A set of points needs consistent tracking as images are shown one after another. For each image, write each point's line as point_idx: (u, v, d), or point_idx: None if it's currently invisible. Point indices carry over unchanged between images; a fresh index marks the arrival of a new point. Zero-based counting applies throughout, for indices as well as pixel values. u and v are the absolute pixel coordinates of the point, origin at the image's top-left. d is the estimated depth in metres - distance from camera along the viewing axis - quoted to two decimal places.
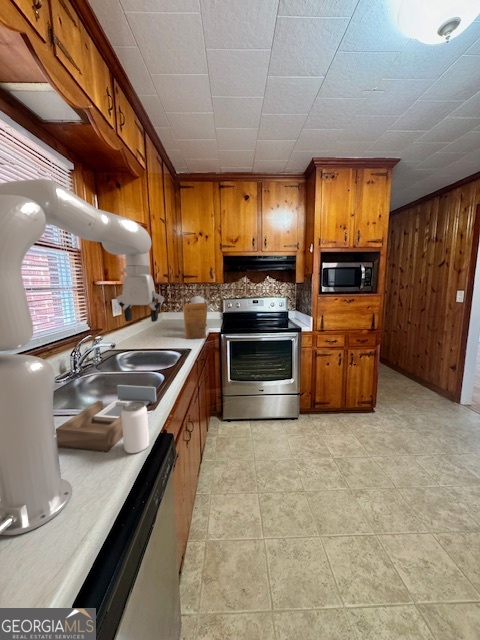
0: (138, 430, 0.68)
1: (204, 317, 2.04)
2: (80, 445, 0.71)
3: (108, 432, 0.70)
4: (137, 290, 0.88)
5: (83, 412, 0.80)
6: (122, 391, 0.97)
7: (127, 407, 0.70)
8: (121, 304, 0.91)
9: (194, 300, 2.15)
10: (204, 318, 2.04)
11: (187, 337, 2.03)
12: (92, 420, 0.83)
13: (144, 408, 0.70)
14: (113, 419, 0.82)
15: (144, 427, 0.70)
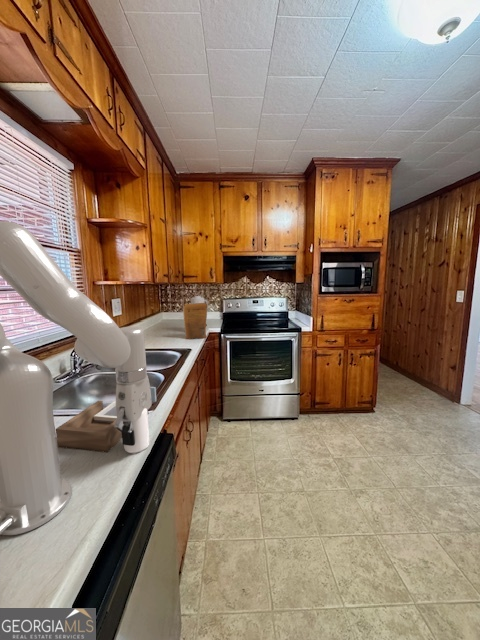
0: (138, 430, 0.68)
1: (204, 317, 2.04)
2: (80, 445, 0.71)
3: (108, 432, 0.70)
4: (144, 395, 0.70)
5: (83, 412, 0.80)
6: None
7: None
8: (126, 427, 0.65)
9: (194, 300, 2.15)
10: (204, 318, 2.04)
11: (187, 337, 2.03)
12: (92, 420, 0.83)
13: None
14: (113, 419, 0.82)
15: (144, 427, 0.70)
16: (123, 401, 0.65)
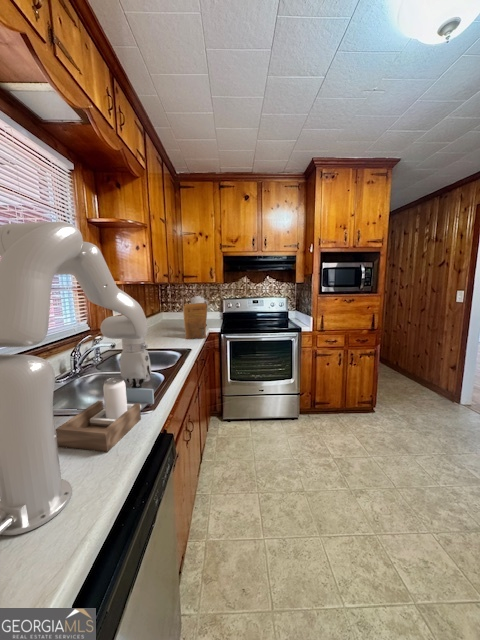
0: (117, 400, 0.82)
1: (204, 317, 2.04)
2: (80, 445, 0.71)
3: (108, 432, 0.70)
4: None
5: (83, 412, 0.80)
6: None
7: (108, 381, 0.83)
8: None
9: (194, 300, 2.15)
10: (204, 318, 2.04)
11: (187, 337, 2.03)
12: None
13: (122, 382, 0.84)
14: (109, 422, 0.80)
15: (122, 398, 0.83)
16: (148, 361, 0.95)
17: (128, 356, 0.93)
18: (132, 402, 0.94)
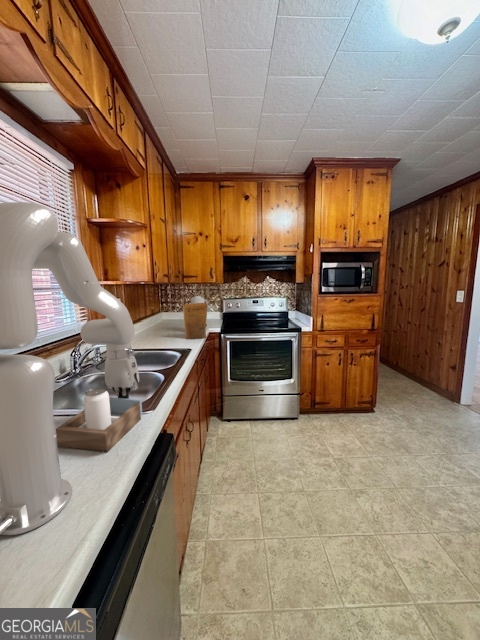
0: (99, 413, 0.74)
1: (204, 317, 2.04)
2: (80, 445, 0.71)
3: (108, 432, 0.70)
4: None
5: (83, 412, 0.80)
6: None
7: (89, 392, 0.75)
8: None
9: (194, 300, 2.15)
10: (204, 318, 2.04)
11: (187, 337, 2.03)
12: None
13: (105, 393, 0.76)
14: None
15: (105, 411, 0.75)
16: (135, 368, 0.87)
17: (113, 363, 0.84)
18: (118, 414, 0.86)
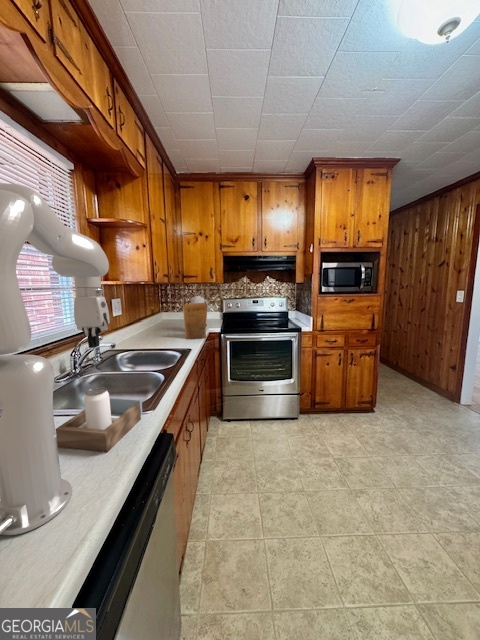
0: (99, 413, 0.74)
1: (204, 317, 2.04)
2: (80, 445, 0.71)
3: (108, 432, 0.70)
4: None
5: (83, 412, 0.80)
6: None
7: (90, 392, 0.75)
8: None
9: (194, 300, 2.15)
10: (204, 318, 2.04)
11: (187, 337, 2.03)
12: None
13: (106, 393, 0.76)
14: None
15: (106, 411, 0.75)
16: (104, 308, 0.86)
17: (82, 301, 0.84)
18: (118, 413, 0.86)
